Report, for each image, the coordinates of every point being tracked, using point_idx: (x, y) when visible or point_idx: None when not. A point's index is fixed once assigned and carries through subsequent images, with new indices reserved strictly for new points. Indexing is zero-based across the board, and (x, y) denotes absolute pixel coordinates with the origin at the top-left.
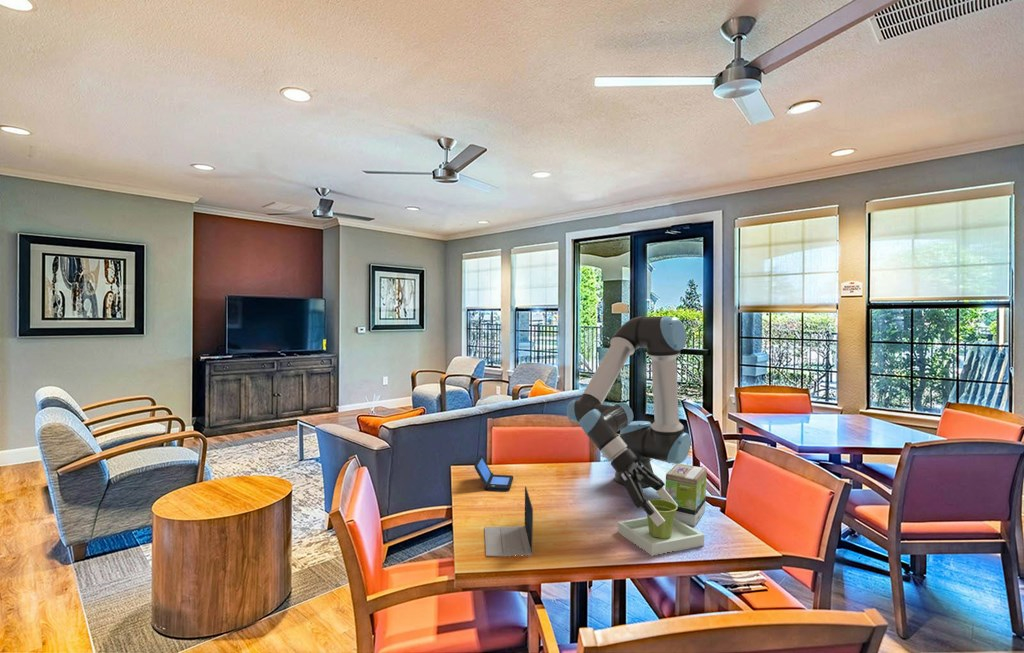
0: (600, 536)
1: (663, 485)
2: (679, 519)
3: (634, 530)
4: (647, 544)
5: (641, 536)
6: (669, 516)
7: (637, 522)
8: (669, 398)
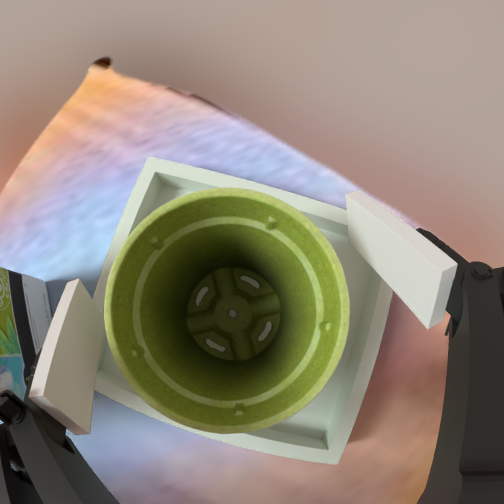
0: (400, 446)
1: (17, 396)
2: None
3: None
4: None
5: (381, 306)
6: (258, 220)
7: None
8: None
